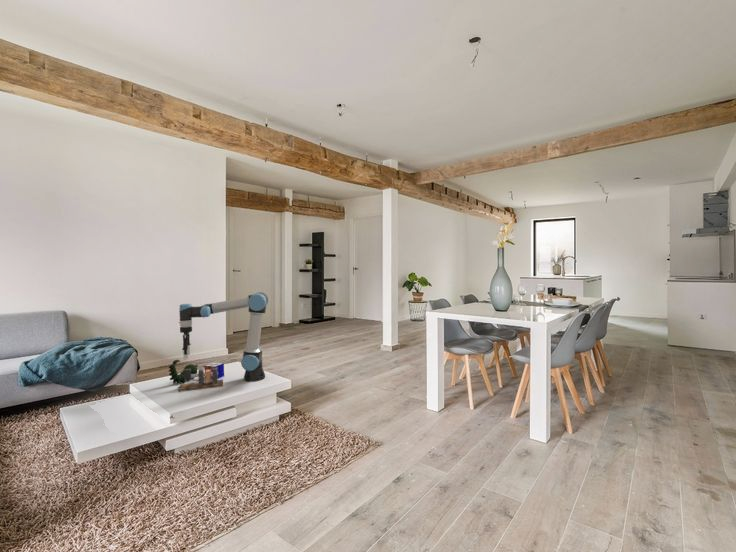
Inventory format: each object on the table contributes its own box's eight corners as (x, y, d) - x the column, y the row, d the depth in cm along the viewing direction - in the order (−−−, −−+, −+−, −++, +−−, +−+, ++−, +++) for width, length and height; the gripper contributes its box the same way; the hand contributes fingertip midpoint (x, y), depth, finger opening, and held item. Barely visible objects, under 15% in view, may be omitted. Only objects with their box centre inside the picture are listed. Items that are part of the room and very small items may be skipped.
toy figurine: (177, 389, 267) (203, 375, 291) (174, 363, 265) (201, 351, 288) (167, 387, 270) (194, 374, 294) (164, 362, 268) (191, 351, 292)
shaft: (218, 375, 272) (217, 365, 272) (218, 376, 269) (217, 366, 269) (184, 379, 264) (184, 369, 264) (184, 380, 262) (184, 370, 261)
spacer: (210, 377, 272) (210, 369, 271) (210, 380, 266) (210, 371, 266) (206, 378, 270) (205, 369, 270) (205, 380, 265) (205, 372, 265)
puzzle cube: (215, 380, 281) (214, 366, 281) (204, 379, 284) (203, 365, 284) (224, 376, 290) (224, 363, 290) (213, 375, 294) (213, 362, 293)
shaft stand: (222, 381, 277) (222, 365, 277) (222, 386, 266) (222, 370, 266) (180, 386, 267) (179, 370, 267) (178, 391, 256) (177, 374, 256)
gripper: (181, 324, 273) (182, 353, 273) (177, 329, 249) (178, 361, 250) (193, 323, 275) (194, 352, 276) (190, 328, 252) (191, 360, 253)
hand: (186, 357), depth 263 cm, fingers open, 13 cm apart
